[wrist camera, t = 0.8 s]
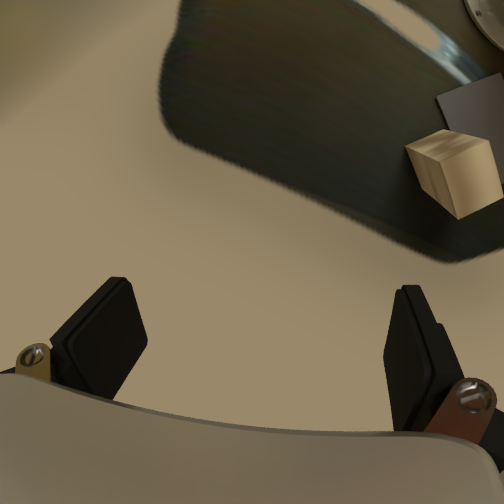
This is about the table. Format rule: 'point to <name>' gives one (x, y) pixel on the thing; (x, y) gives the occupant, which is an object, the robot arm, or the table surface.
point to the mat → (478, 113)
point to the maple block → (456, 171)
